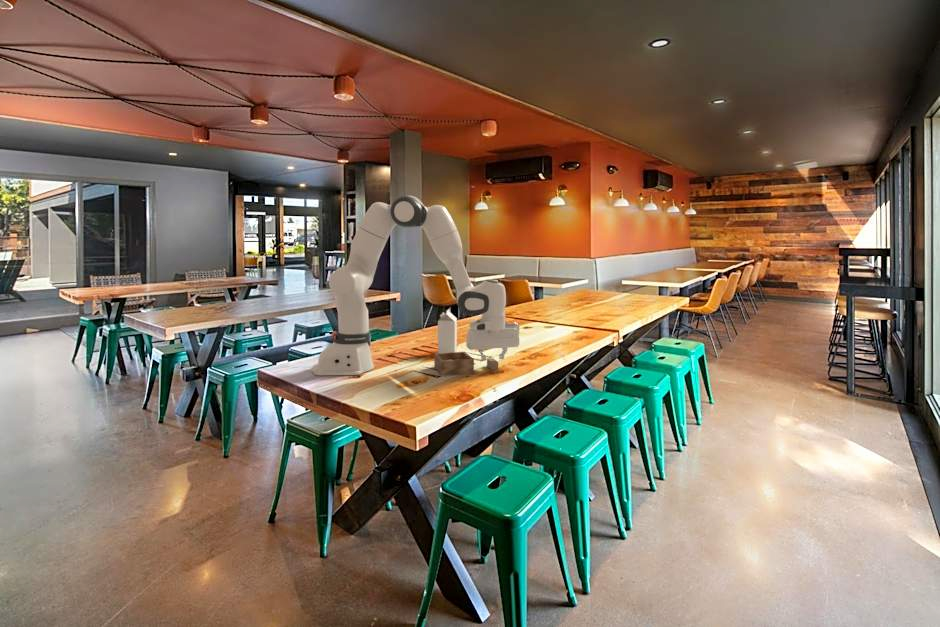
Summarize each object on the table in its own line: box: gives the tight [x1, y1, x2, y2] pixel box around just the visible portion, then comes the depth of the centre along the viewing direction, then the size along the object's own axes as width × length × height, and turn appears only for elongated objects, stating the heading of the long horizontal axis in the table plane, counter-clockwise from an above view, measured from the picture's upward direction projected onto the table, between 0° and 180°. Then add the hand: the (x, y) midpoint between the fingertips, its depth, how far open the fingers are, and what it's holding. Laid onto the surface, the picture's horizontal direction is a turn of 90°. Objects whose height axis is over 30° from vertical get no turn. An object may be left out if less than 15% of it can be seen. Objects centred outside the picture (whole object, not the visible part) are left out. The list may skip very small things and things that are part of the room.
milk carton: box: [437, 308, 458, 353], centre depth 206 cm, size 7×7×19 cm
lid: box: [486, 357, 499, 371], centre depth 185 cm, size 13×13×4 cm
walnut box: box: [433, 351, 475, 377], centre depth 182 cm, size 12×12×6 cm
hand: (492, 359), depth 185 cm, fingers open, 6 cm apart
